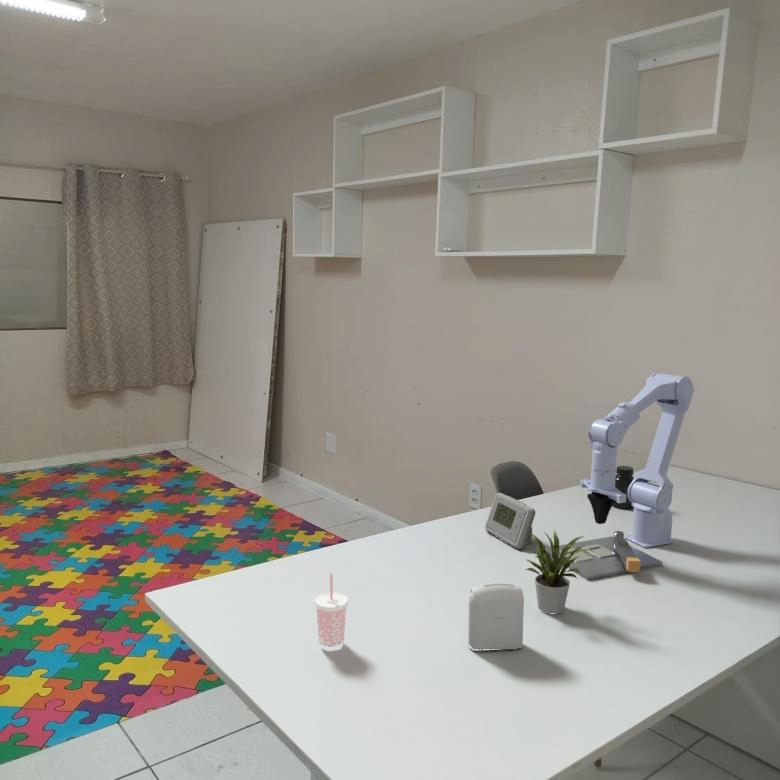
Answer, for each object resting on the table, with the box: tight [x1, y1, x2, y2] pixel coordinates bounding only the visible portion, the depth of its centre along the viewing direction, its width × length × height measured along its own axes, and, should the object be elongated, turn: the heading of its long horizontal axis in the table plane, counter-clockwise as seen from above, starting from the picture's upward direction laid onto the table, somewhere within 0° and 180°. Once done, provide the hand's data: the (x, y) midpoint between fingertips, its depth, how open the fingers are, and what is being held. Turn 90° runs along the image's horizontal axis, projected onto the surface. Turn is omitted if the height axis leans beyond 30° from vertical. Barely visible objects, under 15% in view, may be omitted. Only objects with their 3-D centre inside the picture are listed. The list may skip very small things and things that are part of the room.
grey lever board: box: [545, 530, 664, 581], centre depth 174 cm, size 22×18×5 cm
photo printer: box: [467, 582, 525, 650], centre depth 131 cm, size 10×4×12 cm, turn 96°
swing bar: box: [615, 538, 641, 573], centre depth 169 cm, size 14×3×3 cm, turn 175°
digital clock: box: [484, 492, 536, 550], centre depth 186 cm, size 16×9×11 cm, turn 14°
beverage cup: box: [314, 573, 349, 647], centre depth 131 cm, size 6×6×14 cm
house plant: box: [524, 530, 591, 615], centre depth 146 cm, size 14×14×16 cm
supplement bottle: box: [612, 465, 635, 510], centre depth 213 cm, size 7×7×12 cm
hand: (600, 522), depth 175 cm, fingers closed
